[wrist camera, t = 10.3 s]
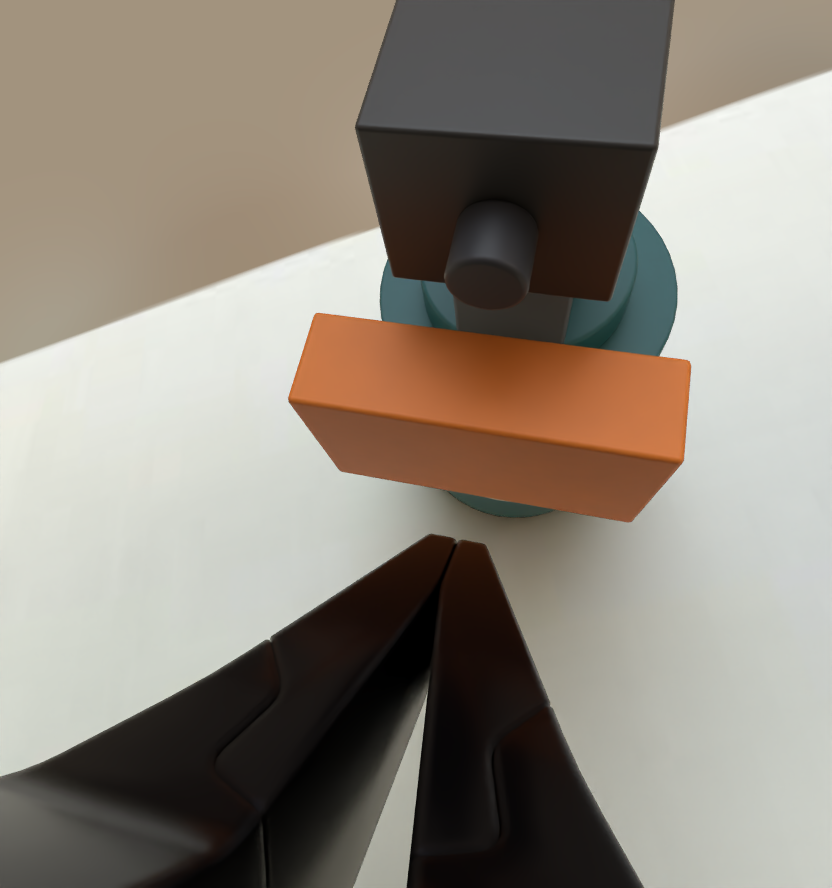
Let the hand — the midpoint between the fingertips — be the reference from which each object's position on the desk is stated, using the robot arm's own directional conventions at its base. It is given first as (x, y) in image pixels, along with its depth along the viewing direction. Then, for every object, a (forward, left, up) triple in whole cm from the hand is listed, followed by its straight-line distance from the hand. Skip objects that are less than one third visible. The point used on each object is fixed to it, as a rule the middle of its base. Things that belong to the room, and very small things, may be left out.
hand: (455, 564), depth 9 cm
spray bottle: (+3, -6, -10) cm, 12 cm away
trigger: (+1, -2, -1) cm, 2 cm away
